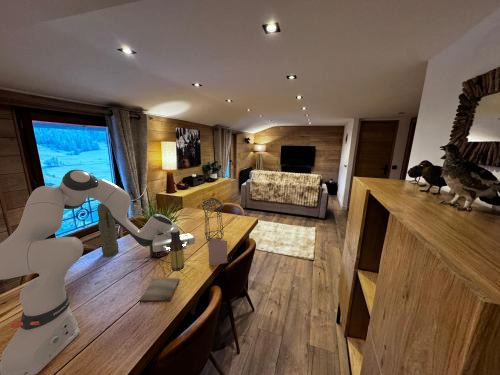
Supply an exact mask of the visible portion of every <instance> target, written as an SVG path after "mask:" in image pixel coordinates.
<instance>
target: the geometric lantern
mask: <svg viewBox="0 0 500 375" xmlns="http://www.w3.org/2000/svg"><path fill="white" fill-rule="evenodd" d="M217 204H219V205H220V206H218V207H217V206H216V205H217ZM200 205H201V207H202V210H203V212H204V236H205V239H206V241H208V242H209V241H210V242H209V244H210V243H211V240H210V238H211V233H215V232H217V233H216V234H214V235H212V237H213V236H214V237H216V235H217V237H216V238H215V239H218V240H222V239H223V238H224V233H223V232H224V226H223V224H222V223H223V219H222V218H223V216H222V213H223V212H222V211H223V208H224V207H225V204H223V203H222V200H220V199H217V198H215V197H210V198H208V199H206V200H204V201H203V202H201V203H200ZM211 205H212V206H211ZM213 210H215V211H213ZM220 211H221V212H220ZM209 213H210V215H209V216H208V215H207V214H209ZM213 213H216V215H217V216H216V219H217V220H216V222H217V223H219V228H220V229H216V230H213V231H211V230H210V228H208V226H210V219H212V218H214V216H211V215H212V214H213ZM219 221H220V222H219ZM219 235H220V236H219ZM218 237H219V238H218Z"/></svg>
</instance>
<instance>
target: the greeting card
mask: <svg viewBox="0 0 500 375" xmlns="http://www.w3.org/2000/svg"><path fill="white" fill-rule="evenodd" d="M210 240H211V243H210V242H209V243H208V266H209V265H211V266H216V264H217V265H222V264H227V263H228V240H222V239H221V240H218V239H216V238H213V237H210Z"/></svg>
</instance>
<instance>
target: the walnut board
mask: <svg viewBox="0 0 500 375" xmlns="http://www.w3.org/2000/svg"><path fill="white" fill-rule="evenodd" d="M179 282H180V278H178V277H177V278H152V279H151V281H150V282H149V284H148V286H147V287H146V288H145V291H144V292H143V294H142V296H141V297H140V299H139V303H167V302H169V303H170V302H171V300H172V298H173V296H174V294H175V291H176V289H177V287H178V285H179Z"/></svg>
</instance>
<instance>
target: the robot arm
mask: <svg viewBox="0 0 500 375" xmlns="http://www.w3.org/2000/svg"><path fill="white" fill-rule="evenodd" d="M87 199H94V200H96V201H98V202H99V203H102V204H104V205H105V206H107V207H108V208H109V210H110V211H111V217H112V219H113V220H114V221H115V224H116V225H118V226H119V227H120V228H122V229H123V230H124V231H125V232H126V233H127V234H129V235H130V236H131V238H133V239H134V240H135V241H136V243H138V244H139V245H140V246H142V247H144V248H145V247H146V248H147V247H151V246H152V252H154V253H158V252H163V251H164V252H165V253H167V254H168V253H169V254H170V242H171V230H173V229H179V227H178V225H177V224H176V223H175V222H173V221H172V220H171V218H170V217H168V216H166V215H165V214H162V213H155V214H152V215H151V216H150V217H149V219H148V220H147V221H146V223H144V225H143V226H142V227H141V229H140V228H138V226H136V225H135V224H134V223H133V222H131V221H130V219H129V218H128V217H129V216H128V213H129V209H130V205H131V202H132V201H131V195H130V194H129V193H128V192H127V191H126V190H124V189H123V188H121V187H120V186H119V185H116V184H115V183H113V182H111V181H109V180H106V179H104V178H99V179H98V178H97V177H96V176H95V175H93V174H92V173H90V172H89V171H86V170H83V169H70V170H68V171H67V172H66V173H65V174H64V175H63V176H62V179H61V181H60V184H59V185H58V186H52V185H42V186H39V187H37V188H35V189H34V190H32V192H31V194H30V195H29V197H28V199H27V201H26V204H25V206H24V209H23V213H22V216H21V219H20V222H19V223H18V226H17V228H16V229H15V230H14V231H13V232H12V233H10V235H9V236H8V237H7V238H6V239H4V240H3V241H1V242H0V280H9V279H14V278H18V277H22V276H23V277H24V276H27V275H32V274H38V275H39V276H37V277H35V278H34V279H31V281H29V282H28V283H27V284H26V285H24V286H23V288H22V289H21V291H20V293H19V300H20V304H21V308H22V313H21V316H20V320H13V321H12V322H11V323H10V326H9V328H11V329H14V328H16V329H17V328H18V329H17V330H16V332H15V333H14V335H13V336H12V337H11V339H10V341H9V342H8V344H7V345H6V347H4V350H3V351H2V353H1V357H0V375H38V373H39V372H41V371H42V370H43V369H44V368H45V367H46V366H47V365H48V364H49V363H50V362H51V361H52V360H53V359H54V358H56V356H58V355H59V354H60V353H61V352H62V351H63V350H64V349H65V348H66V347H67V346H68V345H70V343H71V342H72V341H74V340H75V338H77V336H78V335H80V333H81V330H80V328H79V322H78V320H77V318H75V317H74V315H73V314H74V313H73V312H72V309H71V308H70V298H69V295H68V293H67V292H66V285H65V278H66V274H67V272H68V271H69V269H71V268H72V266H73V265H74V264H75V263H77V262H78V261H79V260H80V258H82V255H83V253H84V245H83V242H82V241H81V240H80V238H78V237H76V236H60V237H59V236H58V237H53V238H48V237H50V236H51V235H54V234H56V233H57V232H58V231H59V230H60V229H61V227H62V225H63V219H64V213H65V212H64V211H65V210H75V209H78V208H81V207H82V206H83V205H84V204H85V203H86V201H87ZM180 240H181V241H182V242H183V250H186V249H187V247H188V246H191V245H194V244H195V243H196V238H195V236H194V235H193V233H191V232H190V233H189V232H188V233H183V234H181V233H180Z"/></svg>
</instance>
